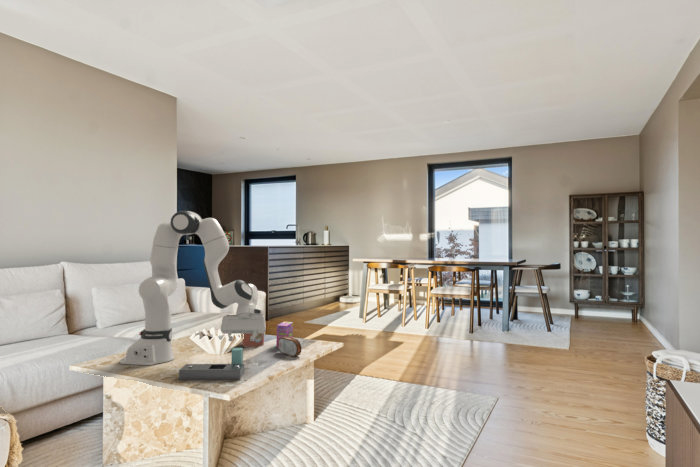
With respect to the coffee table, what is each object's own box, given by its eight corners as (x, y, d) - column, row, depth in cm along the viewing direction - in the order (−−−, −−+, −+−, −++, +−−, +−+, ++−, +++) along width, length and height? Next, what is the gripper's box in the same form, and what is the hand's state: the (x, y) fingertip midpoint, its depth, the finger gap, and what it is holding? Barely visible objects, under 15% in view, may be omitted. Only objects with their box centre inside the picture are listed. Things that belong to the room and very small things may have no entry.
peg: (231, 371, 179) (231, 350, 179) (233, 368, 183) (233, 347, 183) (240, 371, 179) (241, 350, 180) (242, 368, 183) (243, 347, 184)
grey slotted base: (179, 380, 167) (179, 368, 167) (185, 373, 175) (186, 363, 175) (240, 379, 168) (240, 368, 169) (244, 373, 176) (244, 362, 177)
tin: (301, 357, 202) (302, 339, 203) (296, 358, 200) (297, 340, 200) (281, 351, 212) (282, 334, 213) (276, 352, 210) (277, 335, 210)
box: (286, 348, 218) (286, 325, 219) (276, 347, 219) (276, 325, 220) (293, 343, 229) (293, 321, 229) (283, 343, 230) (283, 321, 230)
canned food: (249, 348, 217) (249, 325, 217) (238, 344, 226) (238, 322, 226) (267, 345, 225) (268, 322, 225) (257, 341, 233) (257, 319, 233)
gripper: (222, 311, 195) (216, 336, 185) (266, 310, 196) (263, 336, 187) (224, 318, 200) (218, 344, 190) (267, 318, 201) (264, 344, 191)
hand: (241, 340), depth 188 cm, fingers open, 8 cm apart
